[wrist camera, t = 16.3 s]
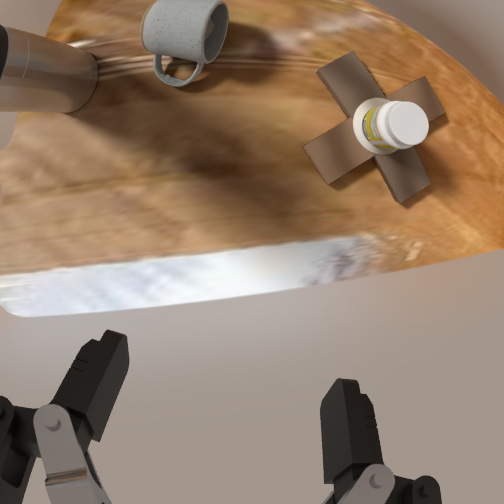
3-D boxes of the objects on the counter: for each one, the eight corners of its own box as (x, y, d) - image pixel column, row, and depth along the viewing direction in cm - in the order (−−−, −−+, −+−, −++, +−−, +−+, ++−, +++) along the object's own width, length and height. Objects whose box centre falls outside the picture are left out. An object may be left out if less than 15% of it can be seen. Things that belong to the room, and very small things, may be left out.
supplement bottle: (406, 127, 30) (441, 124, 22) (383, 156, 32) (414, 161, 24) (376, 98, 30) (404, 86, 22) (352, 128, 31) (375, 123, 23)
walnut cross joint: (352, 227, 37) (356, 232, 35) (269, 100, 32) (269, 98, 31) (460, 157, 32) (467, 159, 30) (389, 35, 28) (395, 30, 26)
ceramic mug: (171, 9, 29) (148, -14, 22) (233, 16, 29) (222, -10, 22) (147, 83, 33) (118, 73, 25) (209, 93, 33) (191, 82, 26)
